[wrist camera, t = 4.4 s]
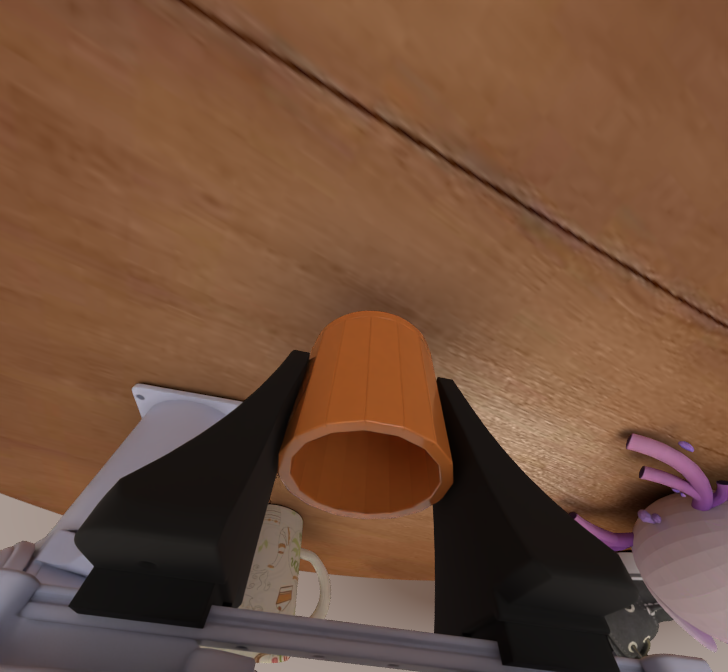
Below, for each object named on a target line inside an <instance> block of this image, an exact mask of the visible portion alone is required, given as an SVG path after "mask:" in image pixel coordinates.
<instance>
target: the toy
mask: <svg viewBox="0 0 728 672" xmlns="http://www.w3.org/2000/svg"><path fill="white" fill-rule="evenodd" d="M678 444H679V445H680V446H681V447H682V448H684V449H686V450H688V451H691V452H693V451H694V448H693V447H692V445H690V444H689V443H687V442H685V441H679V442H678ZM626 449H629V450H633V451H637V452H640V453H643V454H646V455H648V456H651V457H654V458H656V459H658V460H660V461H662V462H664V463H666V464H668V465H670V466H671V467H673V468H674V469H676V470H677V471H678V472H680V473H681V474H682V475H683V476H684V477H685V478H686V479H687V480H688V481H689V482H688V481H686V480H684V479H682V478H679V477H677V476H675V475H672V474H670V473H667V472H664V471H661V470H658V469H654V468H650V467H646V466H643V467H642V468H641V470H640V473H639V478H641V479H645V480H649V481H653V482H657V483H661V484H663V485H666V486H669V487H672V490H673V491H674V492H677V493H674V494H671V495H668V496H665V497H663V498H661V499H658V500H656V501H655V502H653V503H652V504H651V505H649V506H648V507H647V508H646V509H645V510H642V509H640V510H639V511H638V517H639V518H638V519H637V521H636V523H635V526H634V528H633V532H631V533H612V532H609V531H607V530H604V529H602V528H600V527H597V526H595V525H593V524H591V523H590V522H588V521H586V520H584V519H583V518H582V517H580V516H579V515H578V514H576V513H575V512H572V513H569V515H570V516H571V517H572V518H574V519H575V520H576V521H577V522H578V523H579V524H581V525H582V526H583V527H584V528H586V529H587V530H588V531H589V532H591V533H592V534H593V535H594V536H596V537H597V538H598V539H600V540H601V541H602V542H603V543H605V544H606V545H607V546H609V547H610V548H611V549H612V550H614V551H620V550H624V549H627V548H629V547H631V548H632V553H633V557H634V561H635V564H636V566H637V568H638V570H639V572H640V574H641V577H642V579H643V581H644V583H645V584H646V586H647V588H648V589H649V591H650V592H651V594H652V595H653V597H654V598H655V599H656V601H657V602H658V603H659V604H660V606H661V607H662V608H663V609H664V610H665V611H666V612H667V613H668V614H669V615H670V616H671V617H672V618H673V619H674V620H675V621H676V622H677V623H678V624H679V625H680V626H681V627H682V628H683V629H684V630H685V631H686V632H688V633H689V634H690V635H691V636H692V637H694V638H695V639H696V640H697V641H698V642H699V643H701V644H702V645H703V646H705V647H706V648H708V649H709V650H711V651H713V652H717V646H716V643H715V641H714V640H713V638H712V637H714V638H716V639H718V640H720V641H722V642H724V643H727V644H728V481H723V480H719V481H716V483H717V490H712V488H711V486H710V483H709V480H708V478H707V477H706V476H705V474H704V473H703V472H702V470H701V469H700V468H699V466H698V465H697V464H695V463H694V462H693V461H691V460H690V459H689V458H688V457H686V456H685V455H684V454H683V453H681V452H679V451H677V450H675V449H673V448H672V447H670V446H668V445H666V444H664V443H661V442H659V441H656V440H653V439H651V438H648V437H644V436H641V435H637V434H634V433H632V434H631V435H630V436H629V438H628V440H627V443H626ZM680 491H682V492H680Z"/></svg>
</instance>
